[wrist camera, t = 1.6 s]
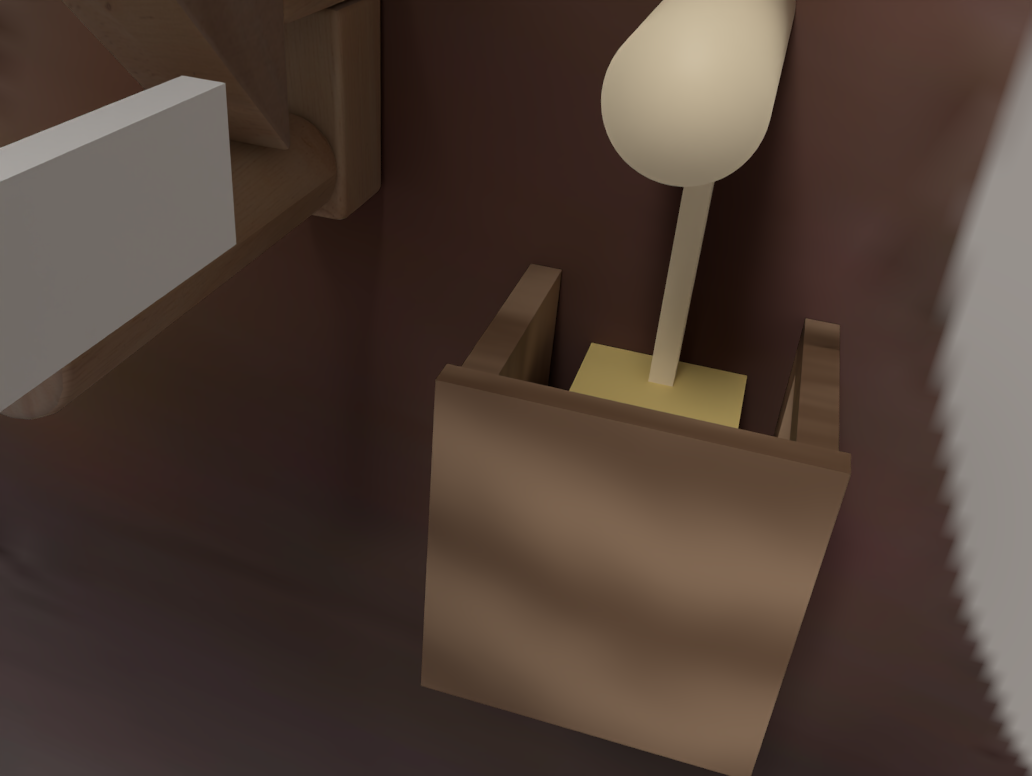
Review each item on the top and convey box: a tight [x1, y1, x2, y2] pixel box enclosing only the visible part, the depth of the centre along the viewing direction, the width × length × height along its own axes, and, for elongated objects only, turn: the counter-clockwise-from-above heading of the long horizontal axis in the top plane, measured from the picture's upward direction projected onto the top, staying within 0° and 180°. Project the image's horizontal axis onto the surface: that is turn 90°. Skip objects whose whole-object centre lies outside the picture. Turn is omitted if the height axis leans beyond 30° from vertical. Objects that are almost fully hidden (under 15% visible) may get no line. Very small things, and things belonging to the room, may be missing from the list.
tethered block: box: [569, 0, 796, 428], centre depth 31 cm, size 22×6×12 cm, turn 175°
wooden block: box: [0, 0, 381, 420], centre depth 27 cm, size 4×11×18 cm, turn 176°
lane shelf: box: [421, 264, 851, 776], centre depth 35 cm, size 13×12×10 cm
